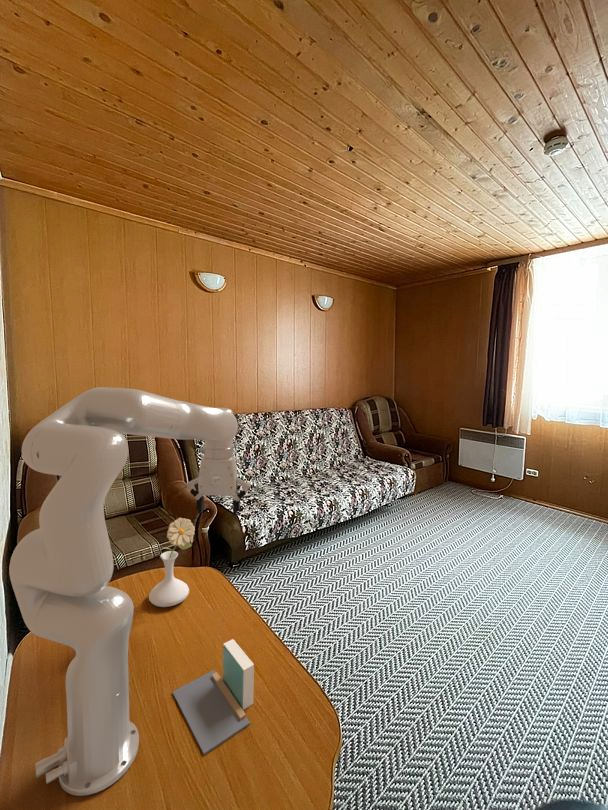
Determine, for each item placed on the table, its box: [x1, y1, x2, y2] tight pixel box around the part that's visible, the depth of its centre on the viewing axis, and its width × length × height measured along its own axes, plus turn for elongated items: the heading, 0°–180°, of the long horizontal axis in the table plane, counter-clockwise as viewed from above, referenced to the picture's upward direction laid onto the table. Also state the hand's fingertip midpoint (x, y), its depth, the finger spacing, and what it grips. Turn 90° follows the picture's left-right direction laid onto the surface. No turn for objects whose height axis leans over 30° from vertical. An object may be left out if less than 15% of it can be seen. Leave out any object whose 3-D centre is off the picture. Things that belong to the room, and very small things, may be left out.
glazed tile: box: [222, 638, 255, 711], centre depth 80 cm, size 3×9×9 cm, turn 39°
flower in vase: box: [148, 517, 196, 608], centre depth 110 cm, size 13×11×25 cm
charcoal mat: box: [172, 669, 251, 756], centre depth 76 cm, size 10×16×1 cm, turn 39°
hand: (218, 512), depth 103 cm, fingers open, 9 cm apart
